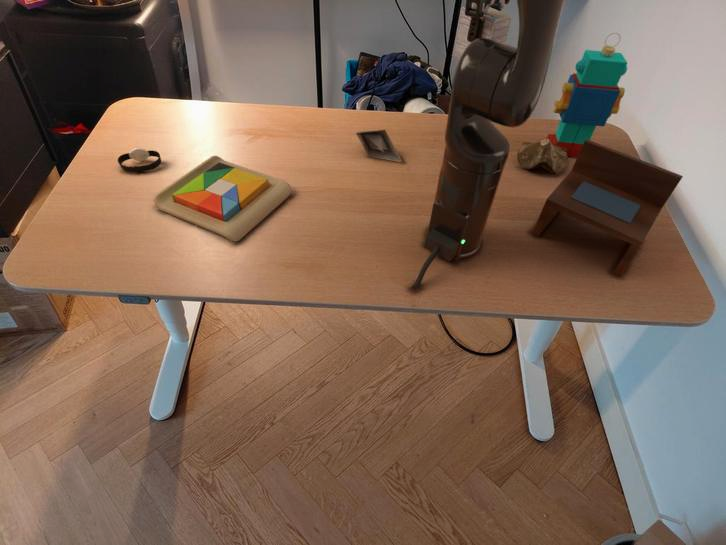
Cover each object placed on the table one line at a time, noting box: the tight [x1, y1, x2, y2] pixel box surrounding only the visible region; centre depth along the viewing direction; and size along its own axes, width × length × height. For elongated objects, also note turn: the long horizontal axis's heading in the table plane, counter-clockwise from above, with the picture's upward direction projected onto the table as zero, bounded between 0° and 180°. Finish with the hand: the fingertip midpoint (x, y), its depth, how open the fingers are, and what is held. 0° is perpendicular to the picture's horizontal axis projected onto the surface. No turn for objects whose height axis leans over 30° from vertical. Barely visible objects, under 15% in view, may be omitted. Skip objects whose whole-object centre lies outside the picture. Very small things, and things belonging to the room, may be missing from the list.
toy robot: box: [546, 32, 628, 158], centre depth 96 cm, size 12×6×25 cm, turn 84°
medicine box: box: [452, 3, 513, 61], centre depth 83 cm, size 8×4×9 cm, turn 36°
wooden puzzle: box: [153, 155, 292, 242], centre depth 87 cm, size 18×19×4 cm
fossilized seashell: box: [516, 138, 570, 175], centre depth 99 cm, size 8×7×10 cm
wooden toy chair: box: [532, 139, 684, 277], centre depth 81 cm, size 12×16×14 cm
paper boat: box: [355, 129, 403, 163], centre depth 98 cm, size 12×6×9 cm
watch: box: [117, 147, 162, 174], centre depth 92 cm, size 8×5×4 cm, turn 108°
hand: (481, 36), depth 82 cm, fingers closed on medicine box, 5 cm apart
